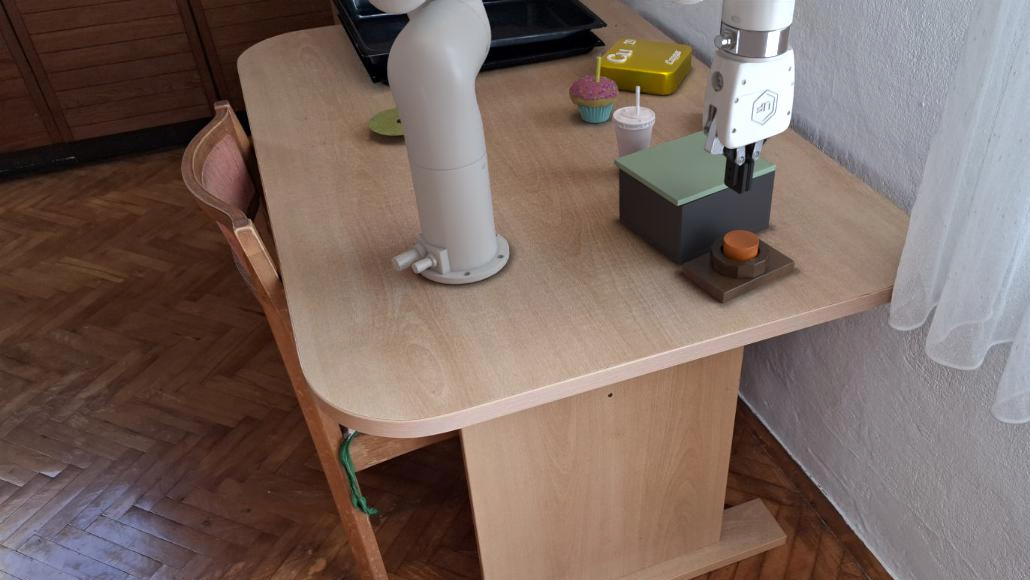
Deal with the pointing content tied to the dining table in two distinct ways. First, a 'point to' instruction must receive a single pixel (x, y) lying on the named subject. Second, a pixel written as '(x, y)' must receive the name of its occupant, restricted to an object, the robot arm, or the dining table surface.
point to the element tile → (646, 65)
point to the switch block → (736, 271)
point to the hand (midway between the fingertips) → (737, 187)
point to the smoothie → (633, 127)
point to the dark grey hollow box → (693, 216)
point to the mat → (387, 122)
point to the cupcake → (594, 96)
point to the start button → (740, 245)
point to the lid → (682, 168)
